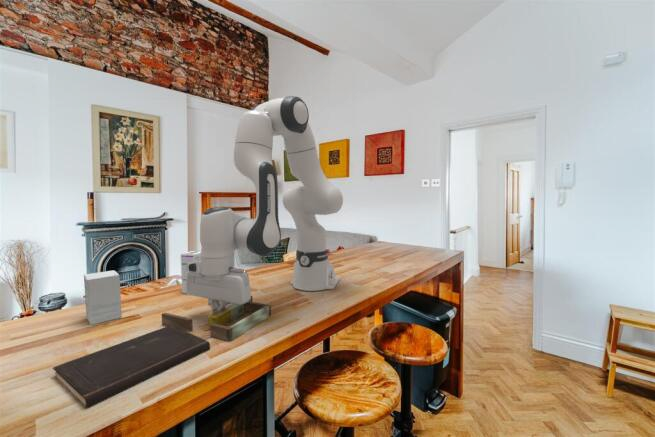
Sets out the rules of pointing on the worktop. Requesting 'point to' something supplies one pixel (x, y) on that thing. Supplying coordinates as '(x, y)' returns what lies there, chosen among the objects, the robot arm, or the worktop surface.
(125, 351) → the hardcover book
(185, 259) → the syrup box
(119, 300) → the supplement box
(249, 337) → the worktop surface
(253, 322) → the trap corral
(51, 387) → the worktop surface
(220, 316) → the medication box
